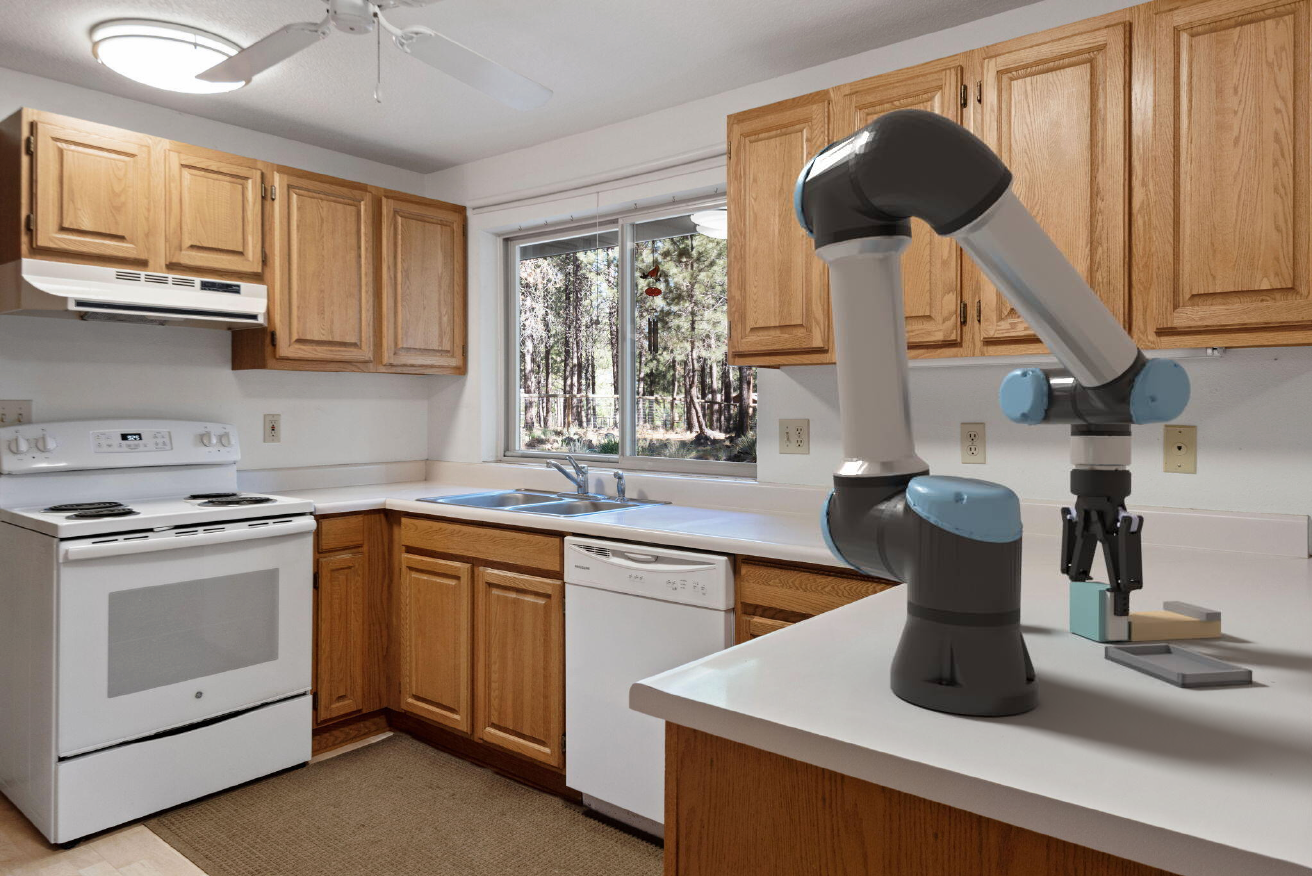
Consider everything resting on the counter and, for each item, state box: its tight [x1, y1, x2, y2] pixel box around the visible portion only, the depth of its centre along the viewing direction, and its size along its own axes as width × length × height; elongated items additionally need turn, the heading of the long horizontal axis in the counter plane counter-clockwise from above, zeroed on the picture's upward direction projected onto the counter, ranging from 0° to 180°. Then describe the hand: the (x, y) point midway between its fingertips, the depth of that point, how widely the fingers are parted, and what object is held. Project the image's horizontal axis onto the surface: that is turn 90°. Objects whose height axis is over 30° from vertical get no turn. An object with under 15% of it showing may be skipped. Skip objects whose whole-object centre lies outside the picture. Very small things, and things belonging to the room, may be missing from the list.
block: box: [1069, 581, 1129, 643], centre depth 116 cm, size 4×6×7 cm
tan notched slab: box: [1127, 600, 1222, 642], centre depth 117 cm, size 14×8×4 cm, turn 100°
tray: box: [1104, 642, 1253, 689], centre depth 99 cm, size 9×12×2 cm
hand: (1098, 632), depth 116 cm, fingers closed on block, 6 cm apart
